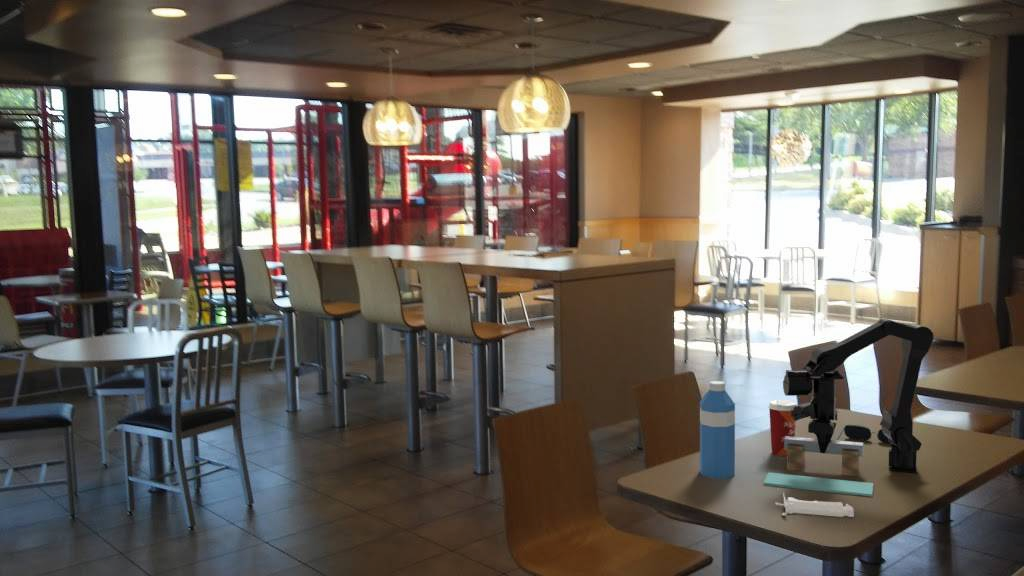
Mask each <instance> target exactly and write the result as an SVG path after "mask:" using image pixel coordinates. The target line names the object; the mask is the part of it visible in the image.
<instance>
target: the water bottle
mask: <svg viewBox="0 0 1024 576" xmlns="http://www.w3.org/2000/svg"><path fill="white" fill-rule="evenodd" d="M735 412H736V404H735V402H734V401H733V399H732V398H731V397H730V395H729V393H728V392H727V391H726V382H725V381H721V380H712V381H709V389H708V390H707V392H706V393H705V394H704V395H703V396H702V398H701V399H700V400H699V472H700V474H701V476H702V477H707V478H710V479H729V478H731V476H732V477H734V476H736V475H735V473H736V470H735V469H736V468H735V466H736V464H735V463H736V462H735V460H736V459H735V458H736V457H735V456H736V451H735V449H736V446H735V442H736V441H735V440H736V439H735V438H736V437H735V436H736V435H735V434H736V433H735V432H736V431H735V430H736V426H735V425H736V416H735V415H736V413H735ZM733 475H734V476H733Z"/></svg>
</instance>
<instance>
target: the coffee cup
mask: <svg viewBox="0 0 1024 576" xmlns="http://www.w3.org/2000/svg"><path fill="white" fill-rule="evenodd" d="M797 405H798V404H797V403H796V402H795V401H792V400H788V399H774V400H771V401H769V405H767V408H768V409H769V422H770V423H769V425H770V426H769V427H770V428H769V429H770V444H771V446H770V447H771V453H772V455H774V456H777V457H787V450H784V438H785V436H791V437H796V428H797V427H796V423H797V421H794V419H793V417H792V416H791V411H790V409H791V408H792V407H793V406H797Z"/></svg>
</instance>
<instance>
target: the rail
mask: <svg viewBox="0 0 1024 576" xmlns="http://www.w3.org/2000/svg"><path fill="white" fill-rule="evenodd" d="M787 445H793V446H803V451H805V453H806V452H807V453H816V454H817V453H818V454H819V453H820V449H819V445H818V440H817V438H811V437H801V436H795V437H791V436H785V438H784V450H787ZM842 450H849V451H858V456H859V458H860V457H862V458H863V455H864V442H859V441H858V442H857V441H848V440H838V441H837V439H831V440H830V442H829V445H828V447H827V449H826V451H825V453H824V454H827V455H841V456H842ZM820 454H821V453H820Z"/></svg>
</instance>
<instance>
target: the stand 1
mask: <svg viewBox="0 0 1024 576" xmlns="http://www.w3.org/2000/svg"><path fill="white" fill-rule="evenodd" d="M805 464H806V452H805V451H803V446H793V445H787V456H786V469H787V470H791V471H800V472H803V470H804V467H805Z"/></svg>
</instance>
